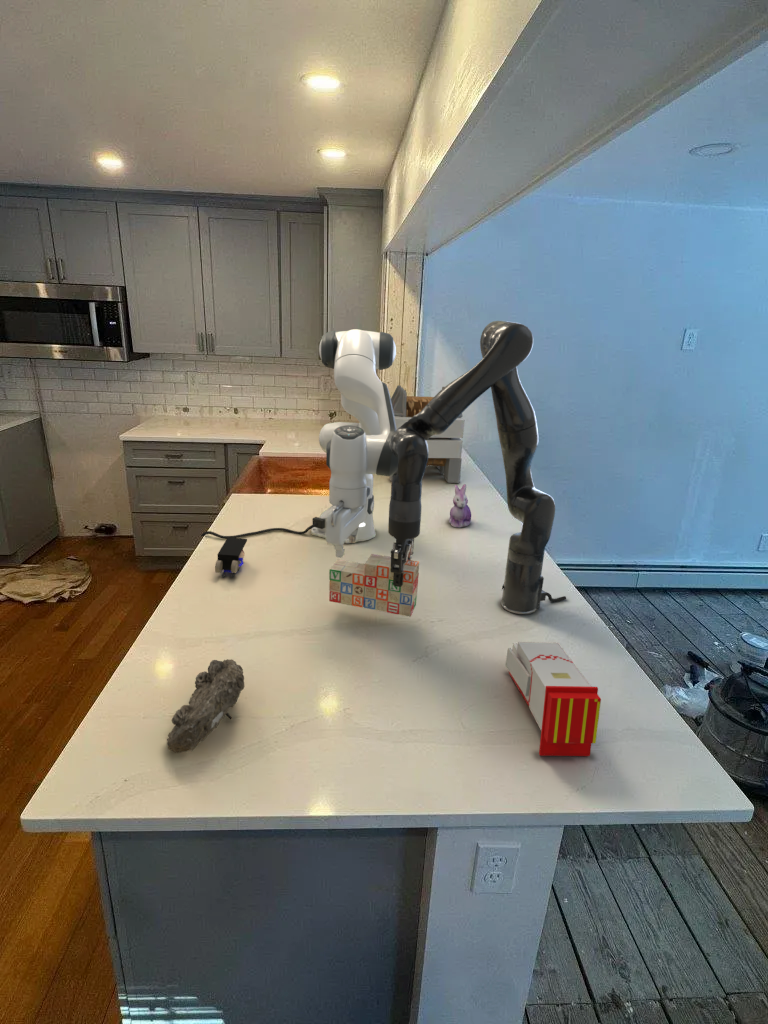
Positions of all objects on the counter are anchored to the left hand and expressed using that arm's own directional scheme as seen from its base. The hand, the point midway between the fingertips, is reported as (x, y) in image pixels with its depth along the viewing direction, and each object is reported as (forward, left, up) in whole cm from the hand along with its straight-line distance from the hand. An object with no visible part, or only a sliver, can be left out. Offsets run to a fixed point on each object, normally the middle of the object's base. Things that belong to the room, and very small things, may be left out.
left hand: (346, 548), depth 139 cm
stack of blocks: (+7, 0, -14) cm, 16 cm away
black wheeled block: (-40, +13, -19) cm, 46 cm away
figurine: (+18, +78, -19) cm, 82 cm away
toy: (+50, -20, -19) cm, 57 cm away
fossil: (-11, -44, -19) cm, 49 cm away
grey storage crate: (-12, +139, -19) cm, 141 cm away
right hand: (+14, 0, -6) cm, 15 cm away
